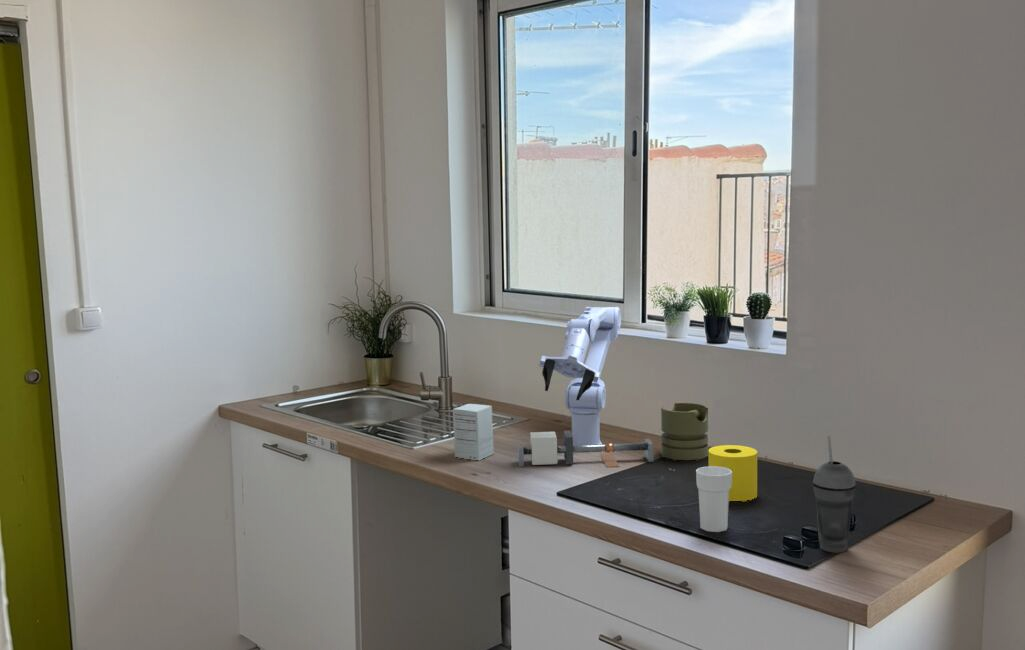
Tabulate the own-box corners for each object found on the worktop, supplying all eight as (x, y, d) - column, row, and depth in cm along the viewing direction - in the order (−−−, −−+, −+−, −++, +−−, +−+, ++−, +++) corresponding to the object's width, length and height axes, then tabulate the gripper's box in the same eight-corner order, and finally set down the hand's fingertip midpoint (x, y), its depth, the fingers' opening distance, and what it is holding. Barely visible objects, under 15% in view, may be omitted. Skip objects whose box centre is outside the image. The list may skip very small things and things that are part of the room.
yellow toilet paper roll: (707, 487, 203) (707, 444, 202) (755, 488, 201) (755, 445, 200) (709, 501, 193) (709, 456, 192) (759, 502, 191) (759, 457, 190)
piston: (717, 406, 228) (690, 414, 220) (717, 454, 230) (691, 463, 222) (678, 400, 236) (651, 408, 228) (678, 447, 238) (652, 455, 230)
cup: (692, 522, 180) (692, 467, 179) (725, 520, 180) (725, 465, 179) (701, 534, 173) (701, 476, 172) (736, 532, 174) (736, 475, 173)
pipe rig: (519, 470, 220) (518, 451, 219) (517, 458, 231) (517, 440, 230) (655, 465, 221) (655, 446, 220) (647, 453, 232) (647, 435, 231)
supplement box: (470, 451, 239) (468, 402, 238) (494, 454, 235) (493, 405, 234) (453, 458, 233) (451, 408, 231) (478, 461, 229) (476, 411, 228)
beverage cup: (838, 558, 160) (840, 444, 157) (803, 547, 165) (804, 437, 163) (863, 548, 164) (865, 437, 161) (828, 537, 170) (829, 430, 167)
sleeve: (532, 464, 223) (531, 438, 222) (531, 458, 228) (530, 432, 228) (557, 463, 223) (556, 437, 222) (555, 457, 229) (554, 431, 228)
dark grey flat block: (566, 464, 222) (566, 437, 222) (564, 456, 229) (563, 430, 228) (573, 463, 222) (572, 437, 222) (570, 456, 229) (570, 430, 228)
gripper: (548, 334, 226) (535, 372, 216) (605, 351, 225) (596, 390, 215) (543, 354, 231) (530, 392, 221) (599, 371, 230) (589, 410, 220)
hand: (562, 392), depth 219 cm, fingers open, 7 cm apart
